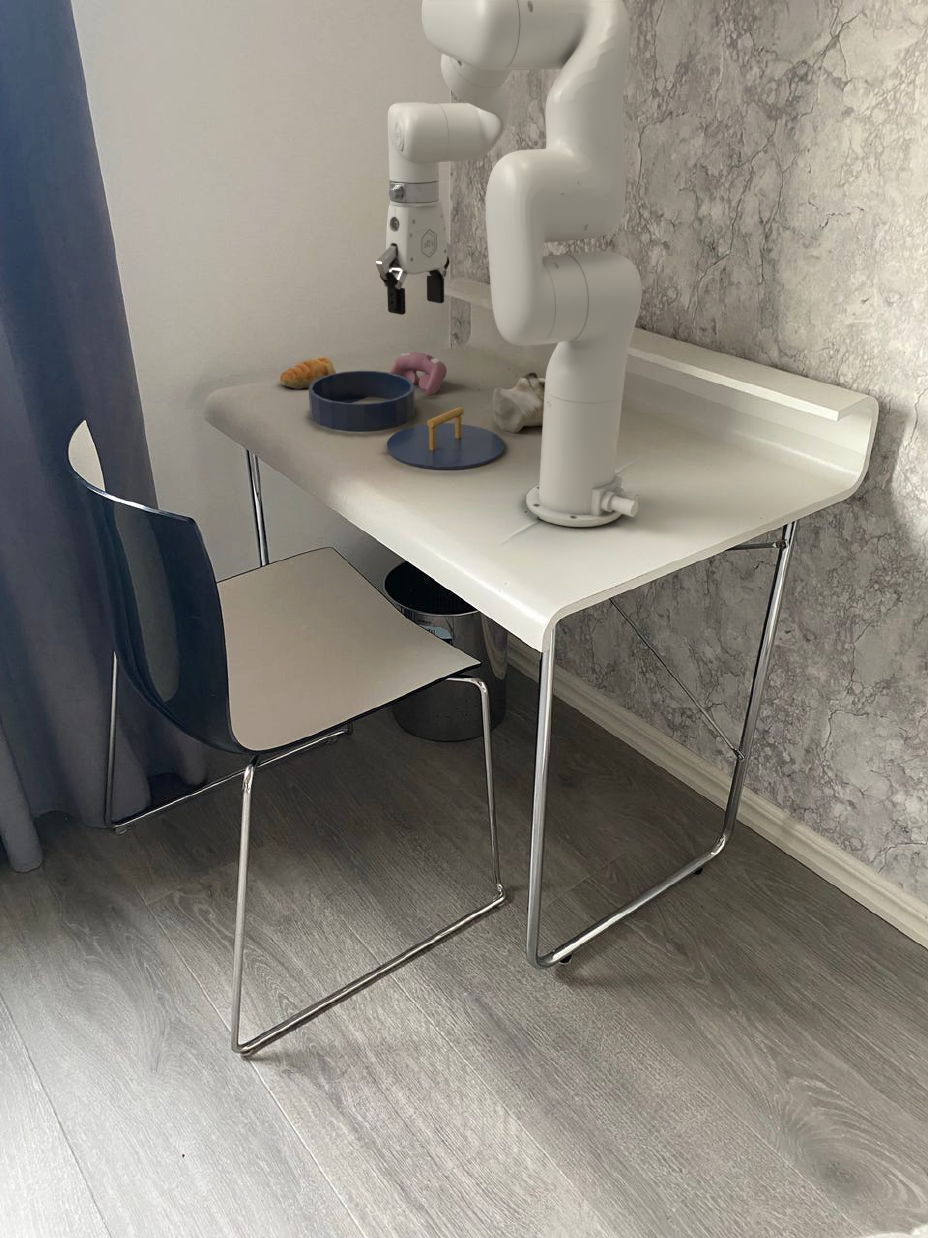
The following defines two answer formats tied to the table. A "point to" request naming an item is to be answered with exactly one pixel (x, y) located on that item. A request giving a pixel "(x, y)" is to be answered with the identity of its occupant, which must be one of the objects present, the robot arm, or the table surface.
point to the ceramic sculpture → (520, 404)
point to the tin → (342, 389)
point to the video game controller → (420, 362)
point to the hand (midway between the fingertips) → (416, 307)
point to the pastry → (307, 373)
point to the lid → (445, 444)
